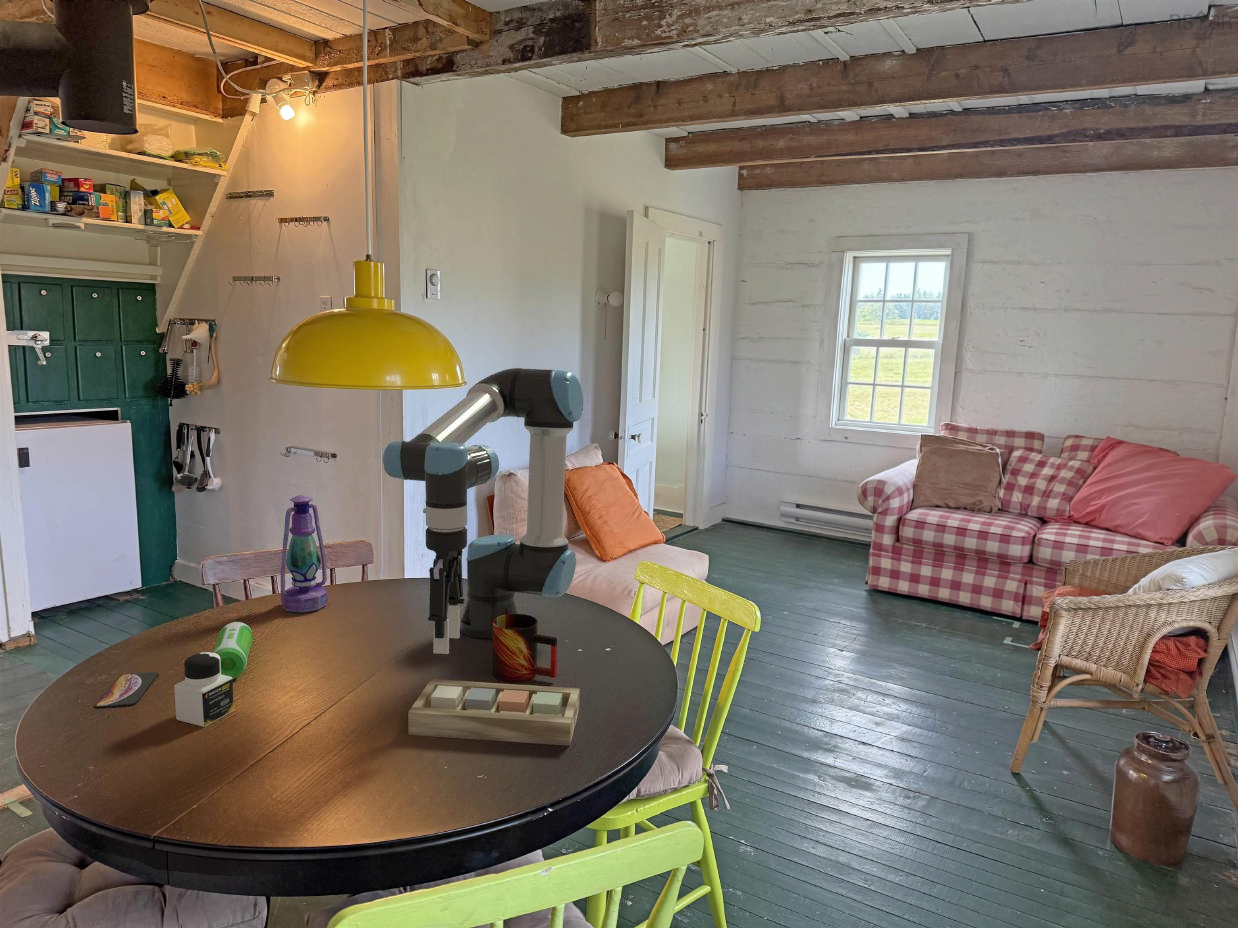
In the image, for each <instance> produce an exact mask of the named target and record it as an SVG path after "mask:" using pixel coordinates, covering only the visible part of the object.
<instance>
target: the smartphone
mask: <svg viewBox="0 0 1238 928" xmlns="http://www.w3.org/2000/svg"><path fill="white" fill-rule="evenodd" d="M159 675H160V674H159V672H157V671H149V672H137V673H125V674H121V675H119V677H118V678H116V680H115V681H114V682H113V683H112V684H111V686H110V687H109V688H108V689H107V690H106V692H105V693H104V694H103V695H102V696H101V697H100V699H99V700H98V701H97V702H96V703H95V704H94V706H93V708H94V707H95V709H111V708H110V707H112V708H114V707H115V708H126V707H125V706H128V707H134V706H136V705H137V704H138V703H139V701H140V700H141V699H142V698H143V696H144V695H145V694H146V692H147V691H148V690H149V688H150V687H151V686H152V685H153V683H154V682H155V680H156V679H157V678H158V677H159ZM133 705H134V706H133ZM122 706H123V707H122ZM106 707H108V708H106Z"/></svg>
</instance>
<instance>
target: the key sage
mask: <svg viewBox="0 0 1238 928" xmlns="http://www.w3.org/2000/svg"><path fill="white" fill-rule="evenodd" d="M561 705H562V693H549V692H537V695H536V697H535V700H534V703H533V713H538V714H553V715H559V712H560V708H561Z"/></svg>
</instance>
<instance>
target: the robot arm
mask: <svg viewBox="0 0 1238 928" xmlns="http://www.w3.org/2000/svg"><path fill="white" fill-rule="evenodd" d="M583 411H584V394H583V388H582V385H581V383H580V380H579V378H578V377H577V375H575V374H574V373H573V372H571V371H566V370H560V369H543V368H542V369H537V368H523V367H513V368H512V367H511V368H506V369H503V370H500V371H498V372H495V373H493V374H491V375H488V376H486V377H485V378H483V379H481V380H480V381H478V382H476V383H475V384H473V385H472V386H471V387H470V388H469V389H468V390H467V393H466V396H465V397H464V398H463V399H462V400H460V401H459V402H458V403H456V404H455V405H454V406H453V407H451V408H450V409H449V410H448V411H446V412H445V413H444V414H442V415H441V416H440V417H438V418H437V419H436V420H434V421H433V422H432V423H431V424H430V425H429V426H427V427H426V428H425V429H424V430H422V431H420V432H419V433H418V434H416V435H415V437H412V439H410V440H409V441H405V440H403V439H402V440H394V441H390V442H389V443H388V444H387V446H386V447H385V448H384V452H383V455H382V464H383V469H384V472H385V473H386V475H388V476H389V477H391V478H395V479H401V480H404V481H407V480H409V481H418V482H424V483H425V508H423V509H422V513H423V514H425V526H427V527H426V529H425V547H426V548H427V549H428V551H432V552H434V553H435V558H434V559H433V560H432V561H433V562H432V566H430V568H429V569H428V572H429V607H428V608H429V615H428V617H427V620H428V621H430V622H433V623H432V626H433V628H432V629H433V630H432V632H433V634H432V638H433V639H432V640H433V642H432V643H433V644H432V645H433V646H432V647H433V649H432V650H433V651H432V652H433V654H441V655H448V654H450V639H460V637H461V634H460V632H461V633H462V634H464V635H466V636H468V637H472V638H475V639H486V640H488V639H489V640H493V620H494V619H495V618H497V617H499V616H502V615H507V614H521V613H520V611H519V607H518V603H517V600H516V597H515V593H519V594H526V595H534V596H539V597H542V598H547V597H549V598H560V597H562V596H564V595H565V594H566V593H567V591H568V590H569V588H570V586H571V585H572V582H573V579H574V575H575V572H576V568H577V556H576V555H577V554H576V552H575V551H574V550H572V549H569V540H568V538H566V536H564V534H563V528H564V502H565V481H566V479H565V478H566V477H565V476H566V461H567V460H566V456H567V452H566V451H567V436H568V434H570V433H571V431H572V430H573V429H574V423H575V422H579V420H580V419H581V417H582V414H583ZM506 417H507V418H508V417H509V418H510V417H512V418H514V417H515V418H523V419H524V420H523V421H524V425H523V427H524V428H525V429H526V430H527V432H528V433H529V454H528V455H529V456H528V457H529V460H528V462H529V463H528V482H527V483H528V489H527V509H526V511H527V512H526V513H527V514H526V533H525V534H524V535H523V536H522V537H521V538H520V539H519V543H516V542H517V540H516V537H515V536H514V535H512V534H506V533H505V534H503V533H501V534H492V535H484V536H481V537H478V538H476V539H473V540H471V541H470V543H469V544H468V528H467V527H466V526H467V525H468V489H471V488H474V487H476V486H479V485H480V486H481V485H485V484H486V483H487V482H489V481H490V480H492V479H494V477H496V475H497V474H498V472H499V469H500V460H499V459H500V458H499V457H498V455H497V452H496V451H495V450H494V449H493V448H492V447H490V446H488V445H485V444H474V445H470V446H466V445H465V444H466V442H468V441H469V440H470V439H471V438H472V437H473V436H475V435H476V434H477V433H478V432H479V431H480V430H481V429H482V428H483V427H484V426H486V425H487V424H489V423H494V422H496V421H498V420H500V418H506ZM466 548H467V553H466V570H467V571H466V580H467V581H466V585H467V586H466V588H467V589H466V590H467V592H466V594H467V595H466V598H467V599H466V601H465V598H463V596H464V589H463V587H464V586H463V585H464V584H463V562H462V561H463V550H464V549H466ZM464 603H465V604H464ZM461 605H464V607H463V610H462V613H460V612H461V611H460V610H461V609H460V607H461ZM460 614H461V615H460Z"/></svg>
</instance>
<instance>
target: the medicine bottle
mask: <svg viewBox="0 0 1238 928" xmlns="http://www.w3.org/2000/svg"><path fill="white" fill-rule="evenodd" d="M183 665H184V680H182V681H180V682H177V683H176V684H174V702H175V704H174V705H175V718H176V720H177V721H179V722H184V723H186V724H187V723H188V724H192V725H194V726H197V727H198V726H199V727H203V728H206V727H208V726H209V725H211V724H213V723H215V722H217V721H218V720H220V719H222V718H224V717H226V716H228V715H230V714H231V713H233V712H234V711H235V703H234V702H235V701H234V685H233V679H232V677H230V676H225V675H221V662H220V656H219V655H218V654H216V653H213V652H210V651H209V652H207V651H204V652H199V653H195V654H192V655H190V656H188V657H187V658H186V659H185V660H184V662H183Z"/></svg>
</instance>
